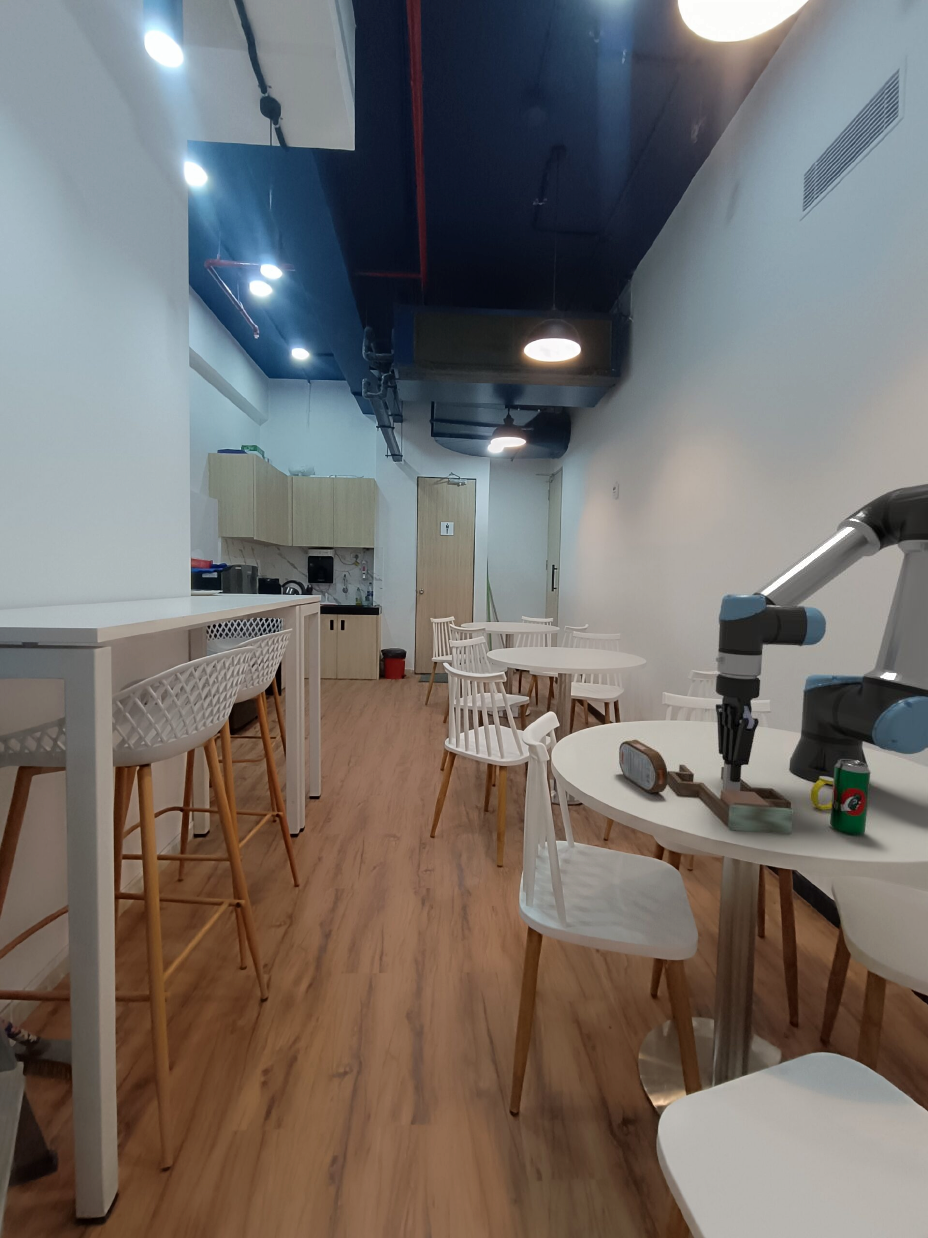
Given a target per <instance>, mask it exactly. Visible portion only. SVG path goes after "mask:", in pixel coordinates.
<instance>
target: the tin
mask: <svg viewBox="0 0 928 1238" xmlns="http://www.w3.org/2000/svg"><path fill="white" fill-rule="evenodd" d="M618 748H619V749H618V750H619V751H618V755H619V756H618V757H619V760H618V761H619V763H618V764H619V767H620V770H621V773H622V774H623V775H624V776H623V777H625V778H626V779H627V780H629V781H630V782H631V783H632V784H635V785H636V786H637V787H638V788H640V789H641V790H642V791H644V792H646V793H648V794H651V793H662V792H664V791H665V790H666V788H667V787H668V767H667V764H666V762H665V759H664V757H663V756H662V755H661V754H660V752H659V751H657V750H655V749H653V748H652V747H650V746H649V745H647V744H645V743H643V742H641V741H639V740H637V739H631V740H626V741H622V742H621V743H620V746H619V747H618Z"/></svg>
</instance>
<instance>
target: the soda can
mask: <svg viewBox="0 0 928 1238" xmlns="http://www.w3.org/2000/svg"><path fill="white" fill-rule="evenodd" d="M870 783H871V771H870V769H869V765H868V763H867V764H866V763H863V762H860V761H856V760H851V759H839V760H838V763H837V764H836V765H835V769H834V781H833V785H832V793H831V794H832V796H831V801H832V804H831V809H830V816H829V817H830V819H829V824H830V826H831V827H832V829H834V830H835V831H837V832H840V834H841V833H842V834H843V835H848V836H854V837H855V836H856V837H857V836H861V835H864V833H865V832H866V826H867V816H868V815H867V814H868V804H869V794H870V792H869V791H870Z"/></svg>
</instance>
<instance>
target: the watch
mask: <svg viewBox="0 0 928 1238" xmlns="http://www.w3.org/2000/svg"><path fill="white" fill-rule="evenodd" d="M833 781H834V778H831V777H826V776H820V777H819V781H817V782H815V783H814V784H813V786H812V787H811V790H810V795H809V796H810V801H811V804H812V805H813V806H814V807H816V808H817V809H819V810H820V811H821V810H822V811H825V810H831V804H832V800H831V801H830V802H828V804H823V805H822V804H821V805H820V804H819V800H818V797H819V792H820V791H821V789H822V787H824V785H829V784H833ZM826 783H827V784H826Z"/></svg>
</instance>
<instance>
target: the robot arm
mask: <svg viewBox="0 0 928 1238" xmlns="http://www.w3.org/2000/svg"><path fill="white" fill-rule="evenodd" d="M895 545H897V547H898V548H899V549H900V551H901V552H902V553H903V555H904V556H903V558H902V559H903V560H902V564H901V567H900V570H899V575H898V577H897V581H896V585H895V590H894V593H893V597H892V601H891V605H890V609H889V613H888V616H887V621H886V624H885V628H884V631H883V632H884V633H883V636H882V639H881V642H880V648H879V651H878V655H877V658H876V663H875V667H874V668H873V669H872V670H870V671H868V672H865V673H864V674H863V675H844V674H840V675H838V674H811V675H809V676H808V677H807V678H806V679H805V684H804V689H803V699H802V713H801V714H802V715H801V730H800V731H801V732H800V738H799V740H798V742H797V744H796V746H795V748H794V751H793V753H792V755H791V757H790V759H789V771H790V772H791V773H793V774H794V775H796V776H798V777H800V778H803V779H806V780H809V781H812V782H815V783H816V782H817V781H819V777H820V776H826V777H831V778H834V769H835V765H836V764H837V763H838V760H839V759H851V760H856V761H860V762H863V763H866V764H867V765H868V763H867V759H866V756H865V753H864V752H865V751H864V749H863V742H864V743H866V744H869V745H873V746H875V747H878V748H880V749H881V750H884V751H885V750H886V751H888V752H895V753H899V754H903V755H913V754H918V753H921V752H923V751H924V750H926V749H928V483H923V484H919V485H918V484H917V485H914V486H907V487H906V486H905V487H901V488H897V489H894V490H891V491H888V492H886V493H884V494H881V495H879V496H878V497H876V498H874V499H873V500H871V501H870V502H868V503H867V504H865V505H863V506H862V507H860V508H858V509H857V510H856V511H854V512H853V513H852V514H850V515H849V516H848V517H847V518H845V519H844V520H842V521H840V523H839V524H838V526H837V529H836V532H834V533H833V534H831V535H830V536H829V537H828V538H826V539H825V540H823V541H822V542H821V543H819V544H817V546H816V547H814V548H813V549H811V550H810V551H809V552H808V553H806V554H805V555H804V556H802V557H800V558H799V559H798V560H797V561H796V562H794V563H793V564H792V565H790V566H789V567H787V568H785V570H783V571H782V572H781V573H779V574H778V575H776V576H775V577H774V578H772V579H771V580H770V581H769V582H767V583H766V584H765V585H763V586H762V587H761V588H759V589H758V590H757V591H755V592H754V593H753V594H726V595H724V596H723V597H722V599H721V603H720V604H721V605H720V611H719V614H718V625H719V629H718V631H719V633H718V654H717V657H715V661H716V662H717V668H716V670H717V671H718V672H719V674H717V675H716V679H715V681H716V682H715V692H716V694H717V695H719V696H722V700H721V702H722V703H719V704H717V703H716V704H715V712H716V718H717V739H718V740H717V744H718V746H717V747H718V754H719V755H722V760H723V767H724V769H723V780H722V786H721V787H722V788H721V790H730V791H740V782H741V779H742V766H749V764H750V758H751V753H752V748H753V744H754V738H755V733H756V730H757V728H758V725H759V721H760V720H759V719H758V718H754V717H753V716H752V711H753V710H752V700H753V699H758V698H759V697H760V691H761V679H760V678H759V676H761V674H762V663H763V648H764V645H766V646H768V645H773V646H774V645H776V646H778V645H779V646H798V647H803V646H813V645H816V644H818V643H819V642H821V641H822V639H824V637H825V634H826V631H827V630H826V628H827V627H826V626H827V621H826V618H825V616H824V614H823V612H822V611H821V610H819V609H818V608H815V607H813V606H811V607H810V606H804V605H800V604H802V603H803V602H805V601H806V600H807V599H808V598H810V597H811V596H812V595H814V594H815V593H817V592H818V591H819V590H821V589H822V588H823V587H825V586H826V585H827V584H829V583H831V581H832V580H834V579H836V577H838V576H839V575H841V574H843V572H844V571H846V570H847V569H849V568H850V567H852V566H853V565H854V564H855V563H857V562H858V561H859V560H861V559H862V558H863V557H872V556H874V555H876V554H877V553H879V552H880V551H882V550H884V549H886V548H889V547H891V546H895ZM825 785H828V786H829V785H830V786H833V784H827V783H826V784H825Z"/></svg>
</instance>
